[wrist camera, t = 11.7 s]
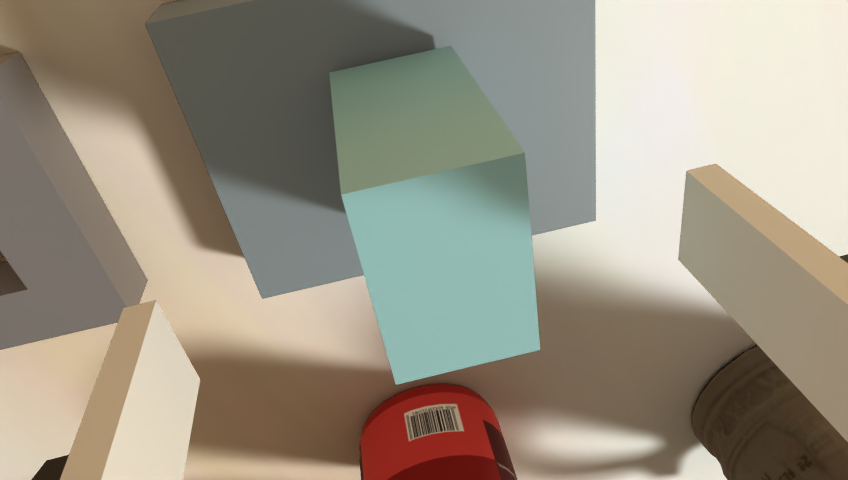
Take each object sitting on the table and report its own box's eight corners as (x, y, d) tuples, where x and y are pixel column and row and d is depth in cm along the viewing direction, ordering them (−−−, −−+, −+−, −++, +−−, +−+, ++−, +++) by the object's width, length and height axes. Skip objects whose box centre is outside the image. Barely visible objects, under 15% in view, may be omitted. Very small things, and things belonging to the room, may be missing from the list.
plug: (363, 188, 25) (395, 384, 16) (326, 46, 22) (341, 194, 13) (456, 166, 25) (540, 350, 16) (434, 22, 22) (525, 152, 13)
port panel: (265, 262, 26) (262, 298, 24) (161, 4, 20) (144, 23, 18) (573, 191, 27) (595, 220, 25) (566, -82, 21) (594, -74, 19)
